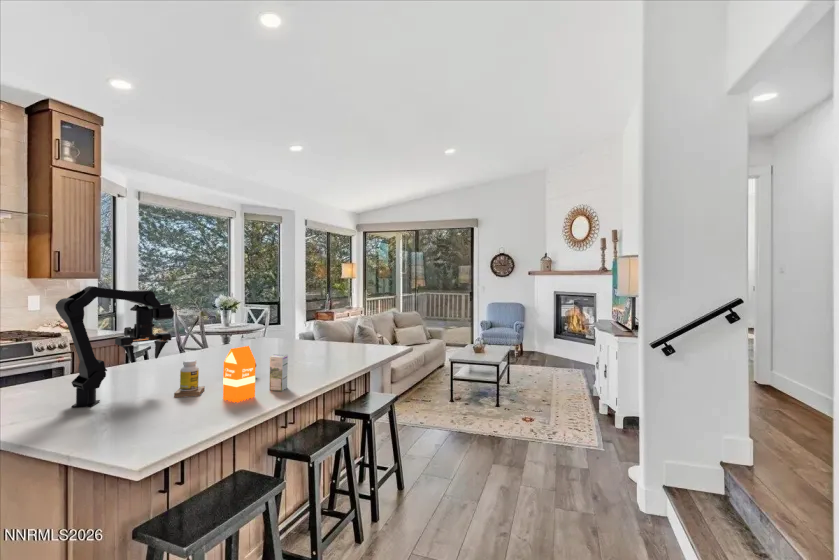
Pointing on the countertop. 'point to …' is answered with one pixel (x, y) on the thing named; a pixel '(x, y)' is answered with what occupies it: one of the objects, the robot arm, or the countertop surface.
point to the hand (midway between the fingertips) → (144, 360)
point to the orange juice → (239, 375)
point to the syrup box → (278, 372)
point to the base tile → (189, 392)
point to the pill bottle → (189, 376)
